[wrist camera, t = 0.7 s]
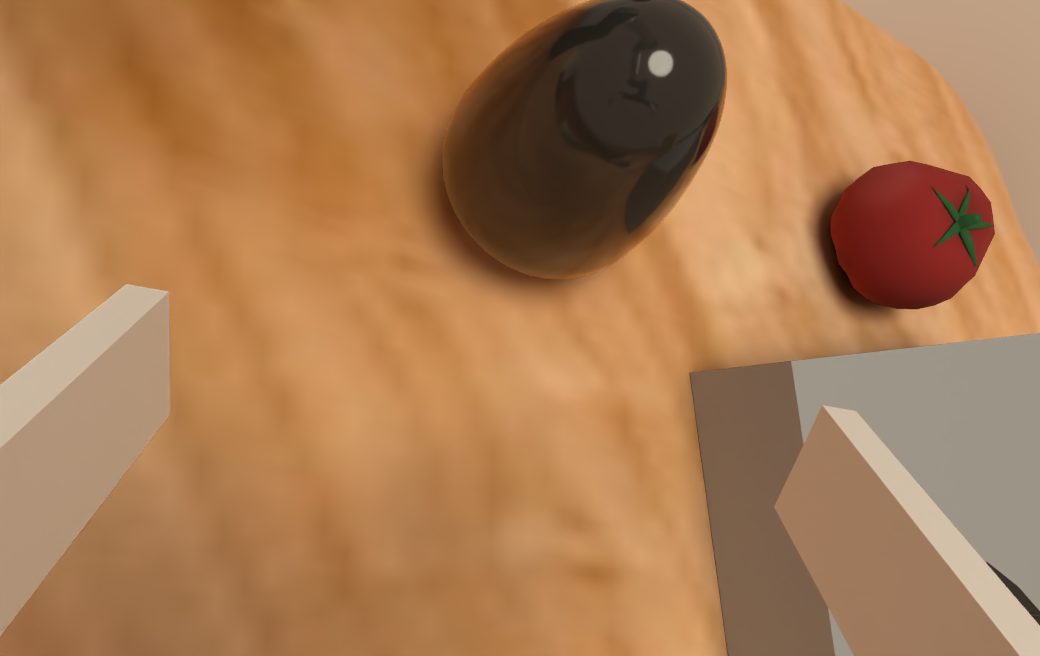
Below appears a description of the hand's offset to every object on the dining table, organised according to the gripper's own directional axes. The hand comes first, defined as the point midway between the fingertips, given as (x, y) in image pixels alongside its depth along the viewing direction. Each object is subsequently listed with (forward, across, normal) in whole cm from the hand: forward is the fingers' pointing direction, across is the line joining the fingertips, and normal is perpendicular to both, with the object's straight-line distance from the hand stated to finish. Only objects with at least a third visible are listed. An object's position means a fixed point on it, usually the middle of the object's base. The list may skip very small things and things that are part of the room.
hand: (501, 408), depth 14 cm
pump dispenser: (+23, +2, -2) cm, 23 cm away
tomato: (+27, +22, -2) cm, 35 cm away
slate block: (+18, +22, -14) cm, 31 cm away
